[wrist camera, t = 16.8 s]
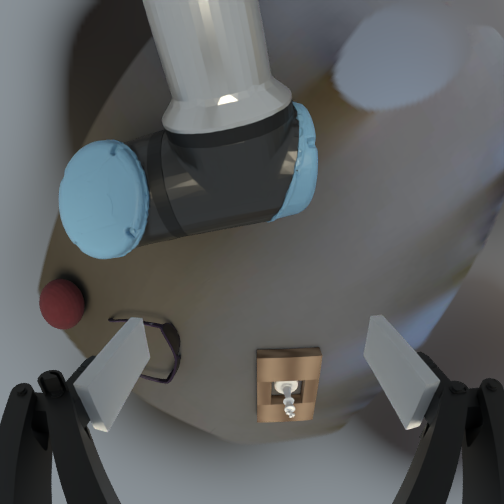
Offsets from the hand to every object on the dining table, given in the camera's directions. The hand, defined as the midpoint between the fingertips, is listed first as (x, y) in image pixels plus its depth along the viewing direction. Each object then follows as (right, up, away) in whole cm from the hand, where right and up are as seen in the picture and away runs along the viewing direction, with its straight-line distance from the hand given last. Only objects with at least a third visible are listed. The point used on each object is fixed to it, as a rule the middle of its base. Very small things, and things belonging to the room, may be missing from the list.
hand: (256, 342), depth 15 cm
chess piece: (+7, -22, +38) cm, 44 cm away
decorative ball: (-37, -4, +34) cm, 51 cm away
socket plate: (+7, -22, +37) cm, 44 cm away
